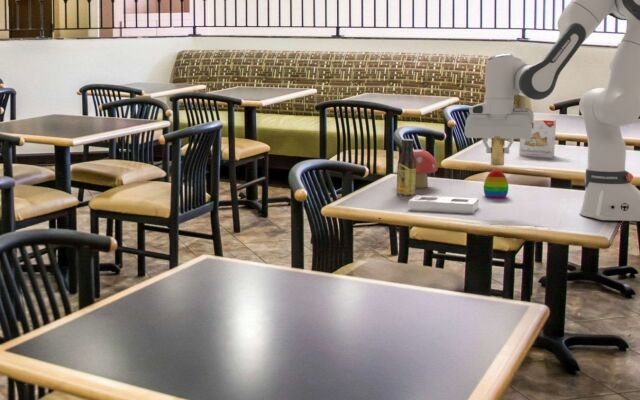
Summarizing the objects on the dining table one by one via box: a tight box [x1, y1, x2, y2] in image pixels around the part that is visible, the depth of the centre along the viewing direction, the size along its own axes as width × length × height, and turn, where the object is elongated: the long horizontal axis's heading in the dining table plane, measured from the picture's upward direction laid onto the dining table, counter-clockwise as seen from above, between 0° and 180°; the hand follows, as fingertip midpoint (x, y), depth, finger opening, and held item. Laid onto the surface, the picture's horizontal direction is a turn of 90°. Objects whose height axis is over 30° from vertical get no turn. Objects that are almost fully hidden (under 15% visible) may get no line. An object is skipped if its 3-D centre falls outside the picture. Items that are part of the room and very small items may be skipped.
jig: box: [408, 194, 479, 215], centre depth 292 cm, size 20×12×3 cm, turn 73°
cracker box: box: [518, 118, 557, 159], centre depth 396 cm, size 14×6×21 cm, turn 67°
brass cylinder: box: [490, 136, 506, 167], centre depth 285 cm, size 4×4×9 cm
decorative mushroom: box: [413, 148, 438, 189], centre depth 327 cm, size 13×13×15 cm
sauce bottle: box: [396, 138, 416, 197], centre depth 312 cm, size 7×6×20 cm
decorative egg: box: [483, 169, 509, 200], centre depth 312 cm, size 8×8×10 cm
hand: (497, 153), depth 285 cm, fingers closed on brass cylinder, 4 cm apart
